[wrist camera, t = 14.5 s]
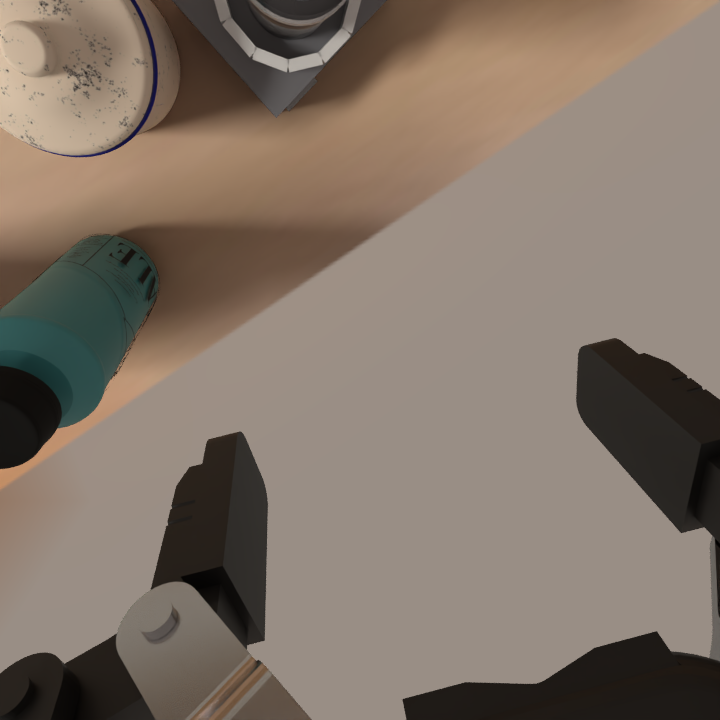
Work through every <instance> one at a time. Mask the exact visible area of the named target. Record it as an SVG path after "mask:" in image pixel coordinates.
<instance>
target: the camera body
mask: <svg viewBox="0 0 720 720" xmlns="http://www.w3.org/2000/svg"><path fill="white" fill-rule="evenodd" d="M172 1H173V2H174V3H175V4H176V5H177V6H178V7H179V9H180V10H181V11H182V12H183V13H184V14H185V15H186V16H187V18H188V19H189V20H190V21H191V22H192V23H193V24H194V26H195V27H196V28H197V29H198V30H199V31H200V32H201V33H202V35H203V36H204V37H205V38H206V39H207V40H208V41H209V42H210V44H211V45H212V46H213V47H214V48H215V49H216V50H217V51H218V53H219V54H220V55H221V56H222V57H223V58H224V59H225V61H226V62H227V63H228V64H229V65H230V66H231V67H232V68H233V70H234V71H235V72H236V73H237V74H238V75H239V76H240V77H241V79H242V80H243V81H244V82H245V83H246V84H247V85H248V86H249V88H250V89H251V90H252V91H253V92H254V93H255V94H256V96H257V97H258V98H259V99H260V100H261V101H262V102H263V103H264V105H265V106H266V107H267V108H268V109H269V110H270V111H271V112H272V114H273V115H274V116H275V117H276V118H277V117H278V115H279V114H280V113H281V112H282V111H283V110H284V109H285V108H287V110H288V111H290V110H291V109H292V108H293V107H294V106H295V105H296V104H297V103H298V101H299V100H300V99H301V98H302V97H303V96H304V95H305V94H306V93H307V92H308V91H309V90H310V89H311V88H312V87H313V86H314V85H315V83H316V82H317V80H316V79H315V78H314V77H315V76H316V75H317V74H318V73H319V72H320V71H321V70H322V69H323V68H324V67H325V65H326V64H327V63H328V62H329V61H330V60H331V59H332V58H333V57H334V56H335V55H336V54H337V53H338V52H339V51H340V50H341V48H342V47H343V46H344V45H345V44H346V43H347V42H348V41H349V40H350V39H351V38H352V37H353V36H354V35H355V34H356V32H357V31H358V30H359V29H360V28H361V27H362V26H363V25H364V24H365V23H366V22H367V21H368V20H369V19H370V18H371V17H372V15H373V14H374V13H375V12H376V11H377V10H378V9H379V8H380V7H381V6H382V5H383V4H384V3H385V2H386V1H387V0H346V1H345V3H344V4H343V5H342V6H341V7H340V8H339V9H338V10H337V11H336V12H335V13H334V14H333V15H331V16H330V17H328V18H327V19H325V20H324V21H323V22H322V24H321V25H320V26H319V27H318V28H317V29H316V30H315V31H314V32H313V33H311V34H310V35H308V36H306V37H304V38H301V39H297V40H285V39H281V38H278V37H276V36H273V35H272V34H270V33H269V32H267V31H266V30H265V29H264V28H263V27H262V26H261V25H260V24H259V23H258V22H257V20H256V19H255V18H254V16H253V14H252V13H251V10H250V8H249V6H248V3H247V0H172Z"/></svg>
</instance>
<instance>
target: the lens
mask: <svg viewBox="0 0 720 720" xmlns="http://www.w3.org/2000/svg"><path fill="white" fill-rule="evenodd" d="M345 1H346V0H247V3H248V6H249V8H250V10H251V13H252V14H253V16H254V18H255V19H256V20H257V22H258V23H259V24H260V25H261V26H262V27H263V28H264V29H265V30H266V31H267V32H269V33H270V34H272V35H273V36H276V37H278V38H281V39H285V40H297V39H301V38H304V37H306V36H308V35H310V34H311V33H313V32H314V31H315V30H316V29H317V28H318V27H319V26H320V25H321V24H322V22H323V21H324V20H325V19H327V18H328V17H330V16H331V15H333V14H334V13H335V12H336V11H337V10H338V9H339V8H340V7H341V6H342V5H343V4H344V3H345Z"/></svg>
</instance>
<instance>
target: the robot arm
mask: <svg viewBox="0 0 720 720" xmlns="http://www.w3.org/2000/svg"><path fill="white" fill-rule="evenodd" d="M576 396H577V397H576V399H577V400H576V402H577V408H578V411H579V414H580V416H581V418H582V420H583V422H584V423H585V424H586V426H587V427H588V428H589V429H590V430H591V431H592V433H593V434H594V435H595V436H596V437H597V438H598V439H599V441H600V442H601V443H602V444H603V445H604V446H605V447H606V449H607V450H608V451H609V452H610V453H611V454H612V455H613V456H614V458H615V459H616V460H617V461H618V462H619V463H620V464H621V465H622V467H623V468H624V469H625V470H626V471H627V472H628V473H629V475H630V476H631V477H632V478H633V479H634V480H635V481H636V482H637V483H638V485H639V486H640V487H641V488H642V489H643V490H644V491H645V493H646V494H647V495H648V496H649V497H650V498H651V499H652V501H653V502H654V503H655V504H656V505H657V506H658V507H659V508H660V510H661V511H662V512H663V513H664V514H665V515H666V516H667V518H668V519H669V520H670V521H671V522H672V523H673V524H674V525H675V527H676V528H677V529H678V530H679V531H680V532H681V533H683V532H687V531H691V530H695V529H699V528H703V527H705V528H706V529H707V530H708V531H709V532H710V533H711V535H712V539H711V543H710V564H711V593H712V626H713V630H712V631H713V632H712V643H711V650H710V657H709V658H707V657H702V656H699V655H694V654H688V653H681V652H671V651H670V650H669V649H668V647H667V646H666V644H665V643H664V641H663V640H662V638H661V637H660V636H659V634H658V632H652V633H649V634H645V635H641V636H637V637H634V638H630V639H626V640H622V641H619V642H615V643H611V644H608V645H604V646H600V647H596V648H594V649H592V650H591V651H589V652H588V653H587V654H585V655H583V656H582V657H580V658H578V659H577V660H576V661H574V662H572V663H571V664H569V665H568V666H566V667H565V668H563V669H562V670H560V671H558V672H557V673H555V674H554V675H552V676H551V677H549V678H548V679H546V680H545V681H542V682H540V683H537V684H509V683H470V682H468V683H467V682H465V683H461V684H458V685H454V686H450V687H446V688H443V689H439V690H435V691H432V692H428V693H424V694H420V695H416V696H413V697H409V698H405V699H403V704H404V709H405V714H406V720H720V399H718V398H717V397H716V396H714V395H713V394H711V393H710V392H709V391H707V390H703V389H702V386H700V385H699V384H698V383H696V382H695V381H694V380H692V379H691V378H690V379H688V378H687V375H685V374H684V373H683V372H681V371H680V370H679V369H677V368H676V367H675V366H673V365H672V364H670V363H669V362H667V361H664V360H661V359H659V358H656V357H653V356H651V355H648V354H645V353H643V354H638V353H636V352H635V351H634V350H632V349H631V348H630V347H628V346H627V345H626V344H624V343H623V342H622V341H621V340H619V339H616V338H613V339H609V340H605V341H601V342H597V343H593V344H589V345H585V346H583V347H581V348H580V350H579V353H578V371H577V395H576ZM267 513H268V502H267V493H266V488H265V484H264V481H263V478H262V476H261V473H260V471H259V469H258V467H257V464H256V462H255V459H254V457H253V455H252V452H251V450H250V448H249V445H248V443H247V441H246V438H245V436H244V434H243V433H242V432H237V433H233V434H228V435H224V436H221V437H216V438H213V439H209V440H208V441H207V444H206V448H205V453H204V459H203V463H202V464H201V465H196V466H192V467H189V469H188V470H187V472H186V473H185V474H184V476H183V477H182V479H181V480H180V482H179V483H178V485H177V486H176V490H175V494H174V498H173V502H172V509H171V510H170V514H169V518H168V526H166V531H165V534H164V538H163V542H162V546H161V550H160V554H159V559H158V562H157V566H156V571H155V575H154V579H153V583H152V587H151V590H150V591H149V592H147V593H146V594H144V595H143V596H142V597H141V598H139V600H137V601H136V602H135V603H134V604H133V605H132V607H131V608H130V609H129V610H128V612H127V613H126V615H125V616H124V618H123V620H122V621H121V624H120V626H119V628H118V632H117V634H115V635H114V636H112V637H111V638H109V639H108V640H106V641H104V642H102V643H101V644H99V645H97V646H95V647H93V648H92V649H90V650H88V651H86V652H85V653H83V654H82V655H79V656H78V657H76V658H74V659H72V660H71V661H69V662H67V663H65V664H64V663H63V662H62V661H61V660H60V659H59V658H58V657H57V656H55V655H53V654H51V653H37V654H33V655H30V656H27V657H25V658H23V659H21V660H19V661H17V662H15V663H14V664H12V665H11V666H9V667H8V668H7V669H5V670H4V671H3V672H2V673H0V720H311V718H310V717H309V716H308V715H307V714H306V713H305V711H304V710H303V709H302V708H301V707H300V705H298V703H297V702H296V701H295V700H294V698H293V697H292V696H291V695H290V694H289V693H288V692H287V690H286V689H285V688H284V687H283V686H282V685H281V683H280V682H279V681H278V680H277V679H276V677H275V676H274V675H273V674H272V673H271V672H270V671H269V669H268V668H267V667H266V666H265V665H264V664H263V663H262V662H261V661H259V660H258V661H256V660H255V659H254V658H253V657H252V656H251V654H250V653H249V652H248V651H247V645H249V644H253V643H257V642H260V641H264V640H265V600H266V556H267Z"/></svg>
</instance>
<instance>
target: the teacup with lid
mask: <svg viewBox="0 0 720 720" xmlns="http://www.w3.org/2000/svg"><path fill="white" fill-rule="evenodd" d="M179 84H180V61H179V55H178V50H177V47H176V43H175V40H174V38H173V35H172V33H171V31H170V28H169V26H168V24H167V23H166V21H165V19H164V18H163V16H162V15H161V13H160V12H159V10H158V9H157V8H156V6H155V5H154V4H153V3H152V2H151V1H150V0H0V127H1V128H3V129H4V130H6V131H7V132H8V133H10V134H11V135H13V136H15V137H16V138H18V139H20V140H22V141H23V142H25V143H27V144H29V145H31V146H33V147H36V148H38V149H41V150H43V151H46V152H50V153H53V154H57V155H62V156H69V157H91V156H97V155H102V154H105V153H108V152H111V151H113V150H115V149H118V148H119V147H121V146H123V145H124V144H126V143H127V142H128V141H130V140H131V139H132V138H133V137H134V136H135V135H138V134H140V133H142V132H145V131H147V130H149V129H151V128H153V127H154V126H156V125H157V124H158V123H160V122H161V121H162V120H163V119H164V118H165V116H166V115H167V114H168V113H169V111H170V109H171V108H172V106H173V104H174V102H175V99H176V97H177V94H178V90H179Z"/></svg>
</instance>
